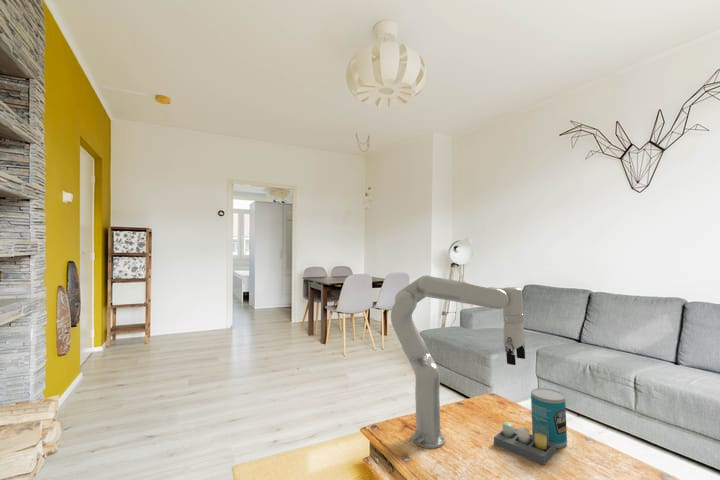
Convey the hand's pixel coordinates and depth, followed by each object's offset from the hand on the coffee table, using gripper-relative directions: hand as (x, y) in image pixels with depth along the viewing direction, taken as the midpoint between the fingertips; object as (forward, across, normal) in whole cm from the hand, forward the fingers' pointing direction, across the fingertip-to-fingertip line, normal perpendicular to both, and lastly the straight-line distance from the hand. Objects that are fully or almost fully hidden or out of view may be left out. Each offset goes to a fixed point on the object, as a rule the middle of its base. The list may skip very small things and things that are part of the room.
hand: (516, 361), depth 137 cm
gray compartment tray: (+31, +5, +3) cm, 31 cm away
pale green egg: (+28, +5, -3) cm, 28 cm away
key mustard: (+28, +5, +9) cm, 30 cm away
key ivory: (+28, +5, +3) cm, 29 cm away
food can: (+32, -8, +8) cm, 33 cm away
